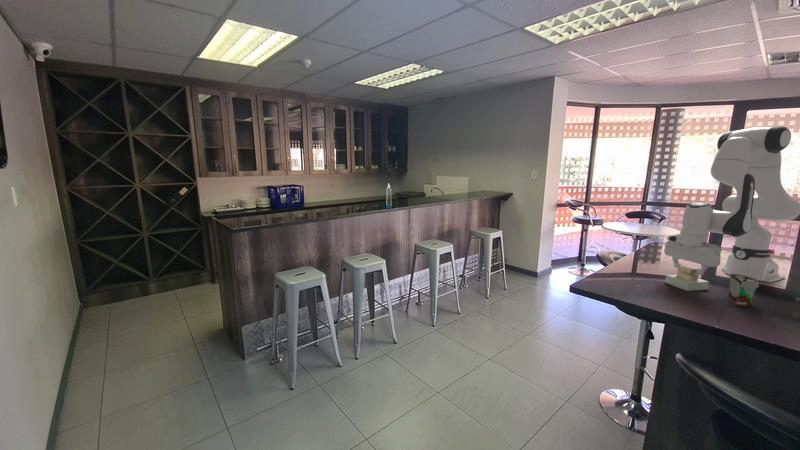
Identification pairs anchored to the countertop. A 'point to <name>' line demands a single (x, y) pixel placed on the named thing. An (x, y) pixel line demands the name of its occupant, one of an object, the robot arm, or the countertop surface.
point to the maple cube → (687, 273)
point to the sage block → (687, 283)
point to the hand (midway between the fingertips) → (688, 270)
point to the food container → (742, 289)
